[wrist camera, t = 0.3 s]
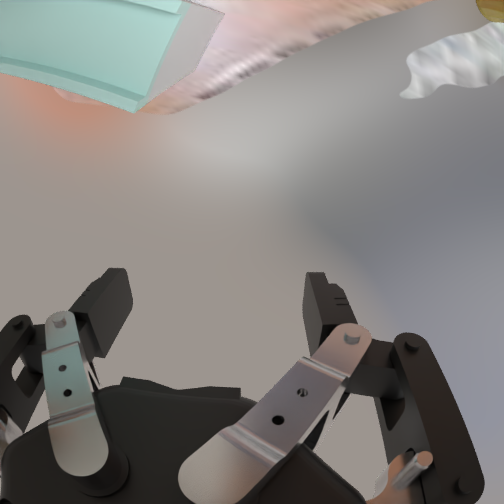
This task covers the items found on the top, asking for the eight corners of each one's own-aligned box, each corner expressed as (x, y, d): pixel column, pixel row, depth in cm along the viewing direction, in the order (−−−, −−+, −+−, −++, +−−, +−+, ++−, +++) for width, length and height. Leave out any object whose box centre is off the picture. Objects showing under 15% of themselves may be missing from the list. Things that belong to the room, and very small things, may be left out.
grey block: (50, 29, 26) (-35, 56, 13) (69, -22, 20) (-17, -17, 7) (194, 70, 33) (146, 104, 20) (225, 14, 27) (191, 3, 15)
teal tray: (-35, 56, 13) (-50, 63, 11) (-17, -17, 7) (-34, -14, 6) (146, 104, 20) (134, 113, 18) (191, 3, 15) (182, 1, 13)
